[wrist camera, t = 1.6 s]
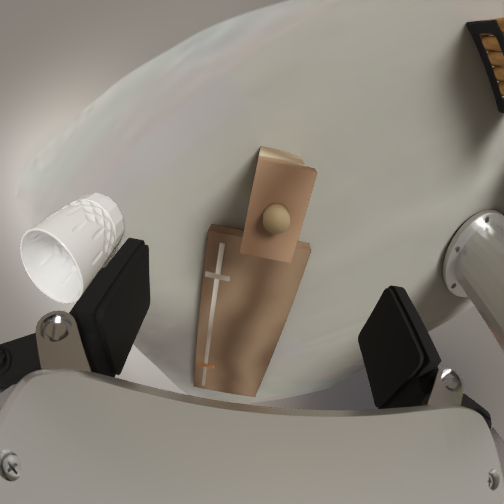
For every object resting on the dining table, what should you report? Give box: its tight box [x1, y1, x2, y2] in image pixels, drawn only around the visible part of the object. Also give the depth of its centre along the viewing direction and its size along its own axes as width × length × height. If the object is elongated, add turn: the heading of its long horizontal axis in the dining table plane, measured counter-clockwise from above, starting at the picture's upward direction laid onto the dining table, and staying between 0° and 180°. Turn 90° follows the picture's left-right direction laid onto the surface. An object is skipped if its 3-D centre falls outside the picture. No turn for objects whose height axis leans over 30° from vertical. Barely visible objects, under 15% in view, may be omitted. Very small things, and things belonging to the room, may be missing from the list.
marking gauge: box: [240, 146, 317, 263], centre depth 21 cm, size 4×6×10 cm, turn 169°
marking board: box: [194, 224, 311, 397], centre depth 35 cm, size 10×28×2 cm, turn 169°
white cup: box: [20, 192, 124, 304], centre depth 24 cm, size 8×8×10 cm
